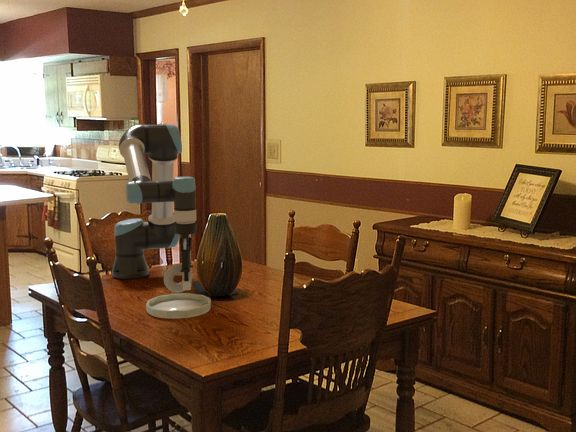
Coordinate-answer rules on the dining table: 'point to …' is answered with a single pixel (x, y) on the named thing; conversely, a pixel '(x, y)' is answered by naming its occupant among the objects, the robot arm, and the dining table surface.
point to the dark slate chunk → (202, 291)
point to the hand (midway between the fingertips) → (187, 288)
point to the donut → (170, 275)
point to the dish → (178, 306)
